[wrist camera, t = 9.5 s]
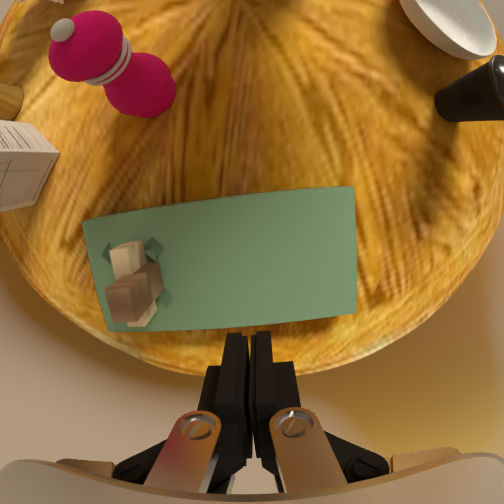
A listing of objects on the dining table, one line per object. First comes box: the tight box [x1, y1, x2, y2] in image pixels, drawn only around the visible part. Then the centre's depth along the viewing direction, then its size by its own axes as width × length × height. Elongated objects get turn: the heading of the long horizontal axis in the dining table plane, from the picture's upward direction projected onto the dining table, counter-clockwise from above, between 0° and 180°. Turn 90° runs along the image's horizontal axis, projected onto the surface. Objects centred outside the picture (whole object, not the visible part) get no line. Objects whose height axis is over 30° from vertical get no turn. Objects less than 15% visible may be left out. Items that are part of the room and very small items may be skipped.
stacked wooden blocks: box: [104, 240, 164, 327], centre depth 26 cm, size 8×3×8 cm, turn 6°
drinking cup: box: [435, 55, 504, 122], centre depth 19 cm, size 8×8×20 cm
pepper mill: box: [48, 10, 176, 118], centre depth 20 cm, size 7×7×20 cm
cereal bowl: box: [399, 0, 496, 60], centre depth 21 cm, size 17×17×7 cm
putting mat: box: [82, 186, 357, 332], centre depth 32 cm, size 14×30×4 cm, turn 96°
